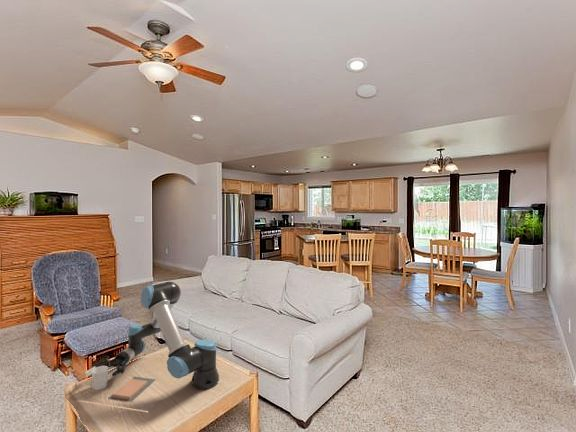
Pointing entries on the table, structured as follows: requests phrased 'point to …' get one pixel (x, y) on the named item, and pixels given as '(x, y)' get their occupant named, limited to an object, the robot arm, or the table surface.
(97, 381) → the white cup
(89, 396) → the table surface
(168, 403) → the table surface
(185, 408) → the table surface
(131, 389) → the tile
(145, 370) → the table surface
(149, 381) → the mat
